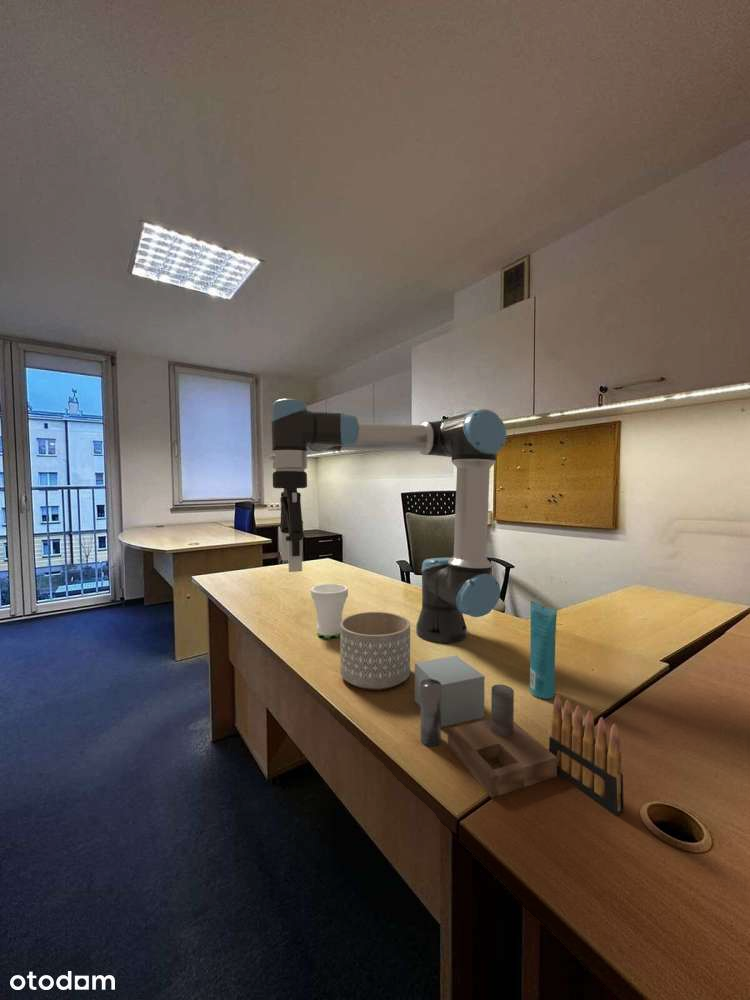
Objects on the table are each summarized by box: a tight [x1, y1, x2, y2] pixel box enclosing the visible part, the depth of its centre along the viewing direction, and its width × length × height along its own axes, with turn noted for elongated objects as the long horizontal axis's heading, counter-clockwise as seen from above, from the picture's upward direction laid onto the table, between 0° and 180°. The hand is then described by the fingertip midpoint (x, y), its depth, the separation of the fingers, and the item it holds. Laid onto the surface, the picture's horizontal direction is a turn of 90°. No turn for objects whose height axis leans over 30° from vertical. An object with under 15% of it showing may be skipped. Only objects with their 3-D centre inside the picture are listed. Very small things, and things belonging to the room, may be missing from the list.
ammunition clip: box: [548, 694, 625, 817], centre depth 58 cm, size 11×2×12 cm, turn 29°
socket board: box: [447, 684, 558, 799], centre depth 63 cm, size 12×12×10 cm
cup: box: [310, 583, 349, 640], centre depth 118 cm, size 11×11×14 cm
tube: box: [529, 600, 558, 700], centre depth 84 cm, size 7×5×19 cm, turn 26°
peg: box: [419, 679, 442, 748], centre depth 69 cm, size 4×4×10 cm
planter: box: [339, 611, 411, 691], centre depth 92 cm, size 16×16×13 cm
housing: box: [414, 655, 485, 728], centre depth 79 cm, size 10×10×8 cm
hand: (291, 565), depth 88 cm, fingers open, 13 cm apart
